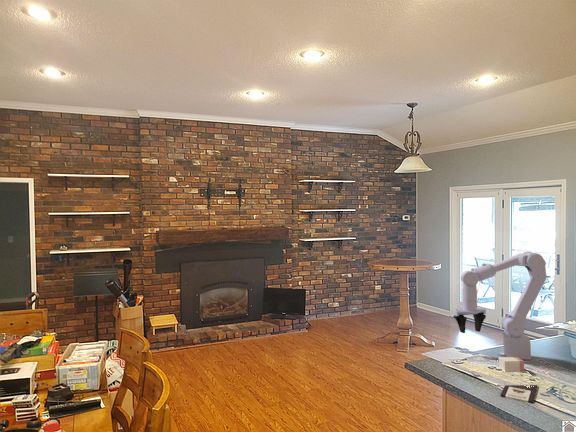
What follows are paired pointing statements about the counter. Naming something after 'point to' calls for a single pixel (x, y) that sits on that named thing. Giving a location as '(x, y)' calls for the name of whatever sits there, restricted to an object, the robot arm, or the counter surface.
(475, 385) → the counter surface
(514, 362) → the card box
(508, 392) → the chocolate bar
